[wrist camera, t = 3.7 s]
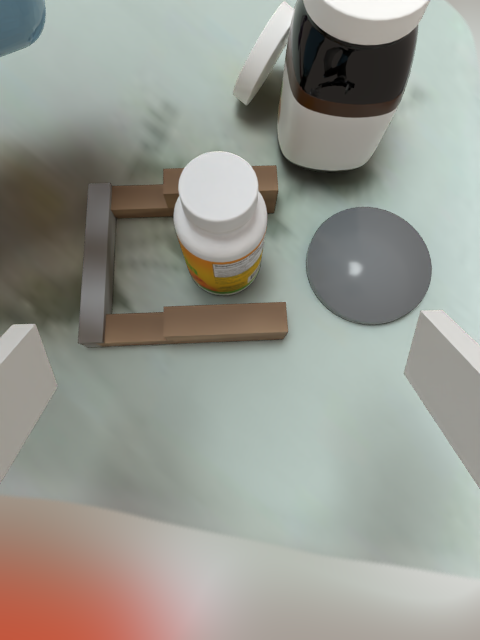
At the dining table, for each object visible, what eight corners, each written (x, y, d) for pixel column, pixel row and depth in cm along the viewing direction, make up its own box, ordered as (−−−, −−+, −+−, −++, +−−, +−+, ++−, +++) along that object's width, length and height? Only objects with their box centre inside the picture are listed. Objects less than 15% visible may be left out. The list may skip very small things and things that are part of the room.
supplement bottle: (180, 240, 28) (151, 152, 18) (247, 222, 28) (254, 127, 19) (198, 305, 26) (178, 247, 17) (269, 285, 27) (287, 217, 18)
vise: (283, 339, 26) (289, 330, 23) (87, 347, 26) (68, 338, 23) (272, 190, 29) (276, 165, 26) (96, 195, 29) (80, 171, 26)
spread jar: (369, 190, 29) (453, 50, 18) (227, 181, 29) (221, 35, 18) (366, 70, 32) (437, -118, 21) (237, 61, 32) (238, -129, 21)
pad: (377, 350, 26) (381, 348, 25) (281, 269, 27) (282, 265, 26) (449, 263, 27) (456, 259, 27) (355, 191, 29) (359, 185, 28)
